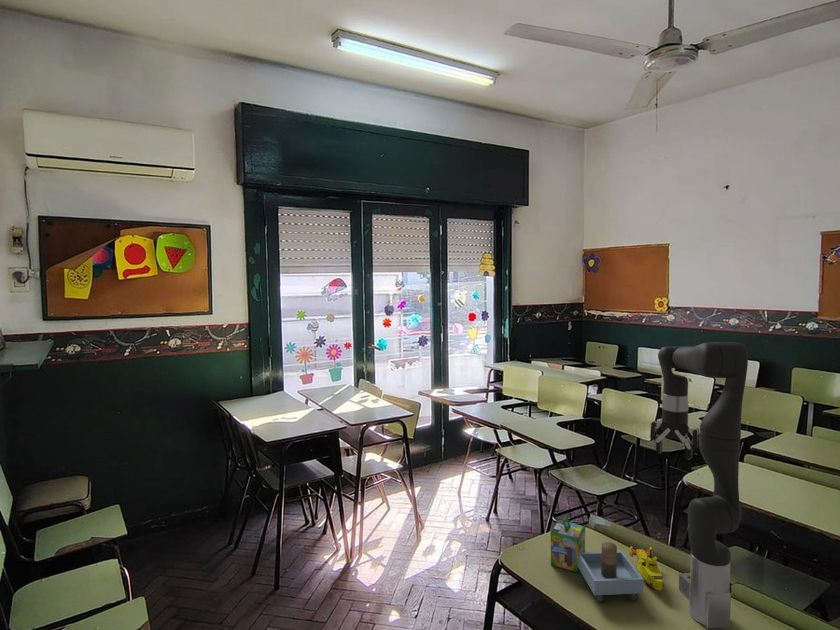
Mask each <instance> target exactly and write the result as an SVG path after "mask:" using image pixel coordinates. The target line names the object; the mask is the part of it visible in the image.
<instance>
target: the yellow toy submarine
mask: <svg viewBox="0 0 840 630" xmlns="http://www.w3.org/2000/svg"><path fill="white" fill-rule="evenodd" d="M648 548H649V549H648ZM648 548H644V547H641V546H639V549H638V548H636V549H634V548H633V546H630V547H629V556H630V557H634V556H636V558H637V563H636V565H637V566H636V569H637V571H638V572H639V574H640V575H641V576H642V578H643V579H644V583H645V582H646V584H647V585H649V586H650V587H651V588H653V590H656V591H662V589H663V585H664V577H663V576H664V575H663V574H662V572H661V570H660V568H659V567H658V564H657V562H656V561H657V560H658V558H657V556H654V551H653V548H652V547H651V546H650V547H648Z"/></svg>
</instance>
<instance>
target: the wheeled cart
mask: <svg viewBox="0 0 840 630" xmlns="http://www.w3.org/2000/svg"><path fill="white" fill-rule="evenodd" d="M601 554H602V551H592V552H591V551H589V552H588V551H587V552H586V551H585V552H583V553H577V566H578V568H579V569H580V573H581V575H582V576H583V579H584V581H585V582H586V583H587V585H588V587H589V588H590V590H591V593H593V595H594V596H595V599H596V601H597V602H600V603H601V602H604V596H609V595H628V596H627V597H628V599H629V600H630V601H637V599H638V598H637V597H638V595H637V594H644V586H645V584H644V583H645V581H644V579H643V578H642V576H641V575H640V573H639V571H638V569H637V567H635V566H634V564H633V563H632V561H630V559H629V558H628V556H627V555H626V554H625V552H623V550H617V572H616V578H615V579H607V578H605V577H603V576H602V574H601Z"/></svg>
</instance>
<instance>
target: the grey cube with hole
mask: <svg viewBox="0 0 840 630" xmlns="http://www.w3.org/2000/svg"><path fill="white" fill-rule="evenodd" d="M678 575H679V576H678V591H679V592H681V594H683V596H684V597H685V598H686V599H688V601H689V592H690V572H687V573H686V572H684V573H683V572H682V573H679V574H678Z"/></svg>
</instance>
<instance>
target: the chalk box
mask: <svg viewBox="0 0 840 630" xmlns="http://www.w3.org/2000/svg"><path fill="white" fill-rule="evenodd" d="M583 552H586V526H584V525H580V524H577V523H574V522H570V519H569V516H568V515H567V514H566V516H564V519H563V520H560V519H558V520H557V521H556V523H555V524H554V526H553V527H552V529H551V530H550V565H551V566H552V567H557V568H560V569H564V570H567V571H571V572H574V573H577V574H579V573H581V571H580V569H579V568H578V566H577V553H583Z"/></svg>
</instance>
